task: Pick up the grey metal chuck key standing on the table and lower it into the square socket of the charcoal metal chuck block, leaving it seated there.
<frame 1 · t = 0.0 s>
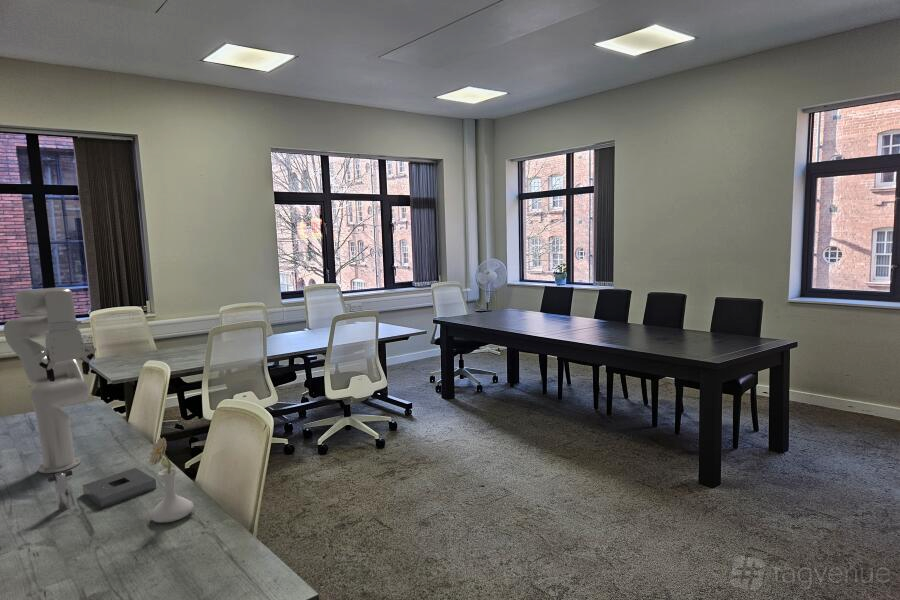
hand: (69, 377, 181), 37 cm above the table, tool pointing down, fingers open, 9 cm apart
flower in vase: (172, 518, 159), on the table
chuck block: (120, 490, 178), on the table
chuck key: (64, 508, 168), on the table
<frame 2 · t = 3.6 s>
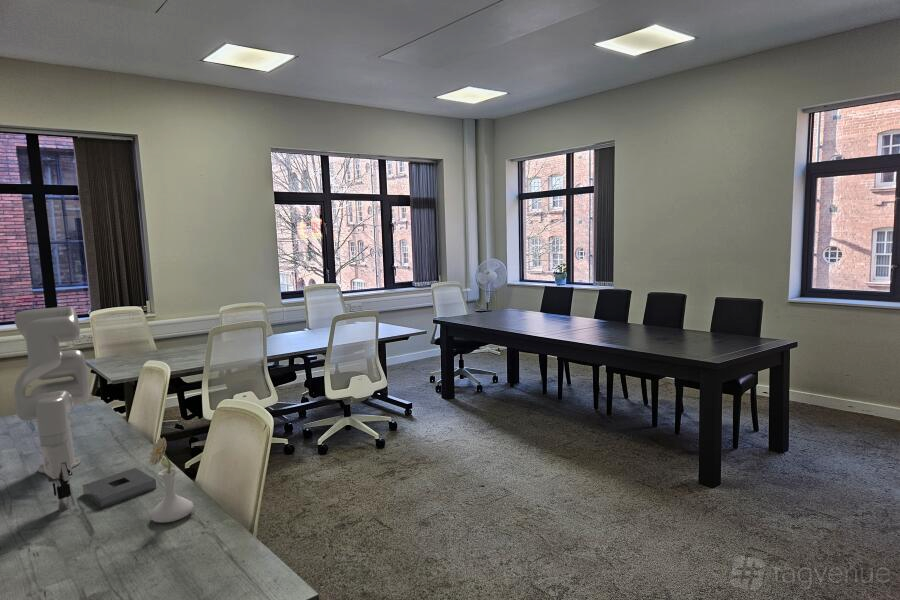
hand: (62, 495, 167), 4 cm above the table, tool pointing down, fingers closed on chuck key, 3 cm apart
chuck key: (64, 508, 168), on the table, touching gripper
everything else where it was.
when the fingers open (5 cm above the table, at t = 9.0 s): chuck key stays where it is, resting in chuck block.
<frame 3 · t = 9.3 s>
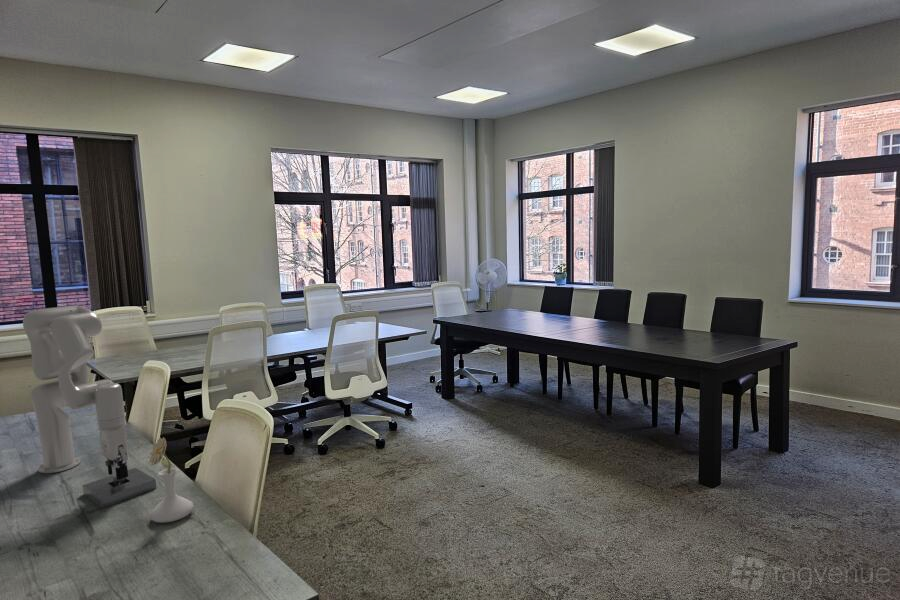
hand: (118, 475, 178), 5 cm above the table, tool pointing down, fingers open, 6 cm apart
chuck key: (120, 491, 178), resting in chuck block
everything else where it was.
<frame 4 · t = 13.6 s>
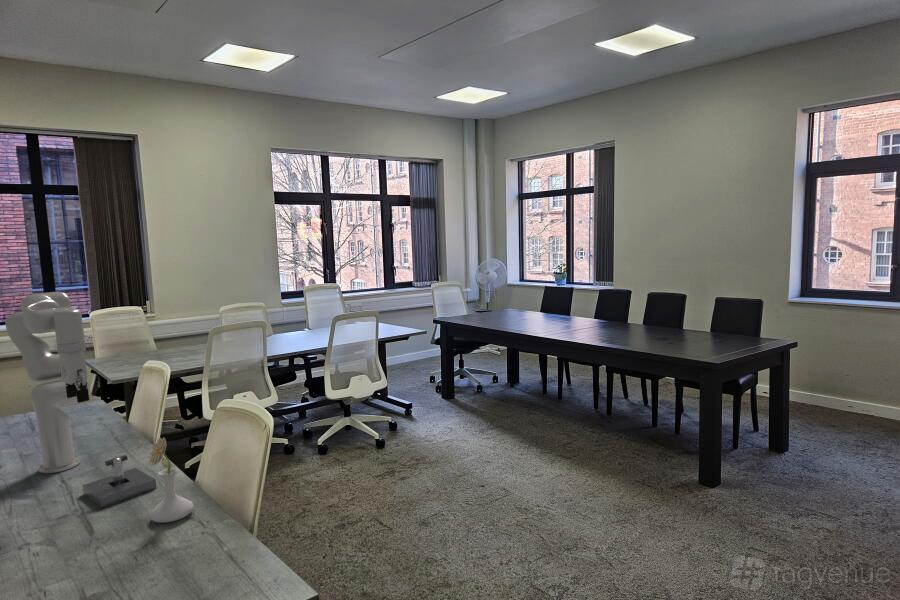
hand: (78, 399, 178), 30 cm above the table, tool pointing down, fingers open, 9 cm apart
nothing on the table moved.
at the end: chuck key 0.0 cm off-centre on the chuck block, point 0.0 cm above the chuck block's base; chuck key tilted 0°; the gripper is holding nothing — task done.
